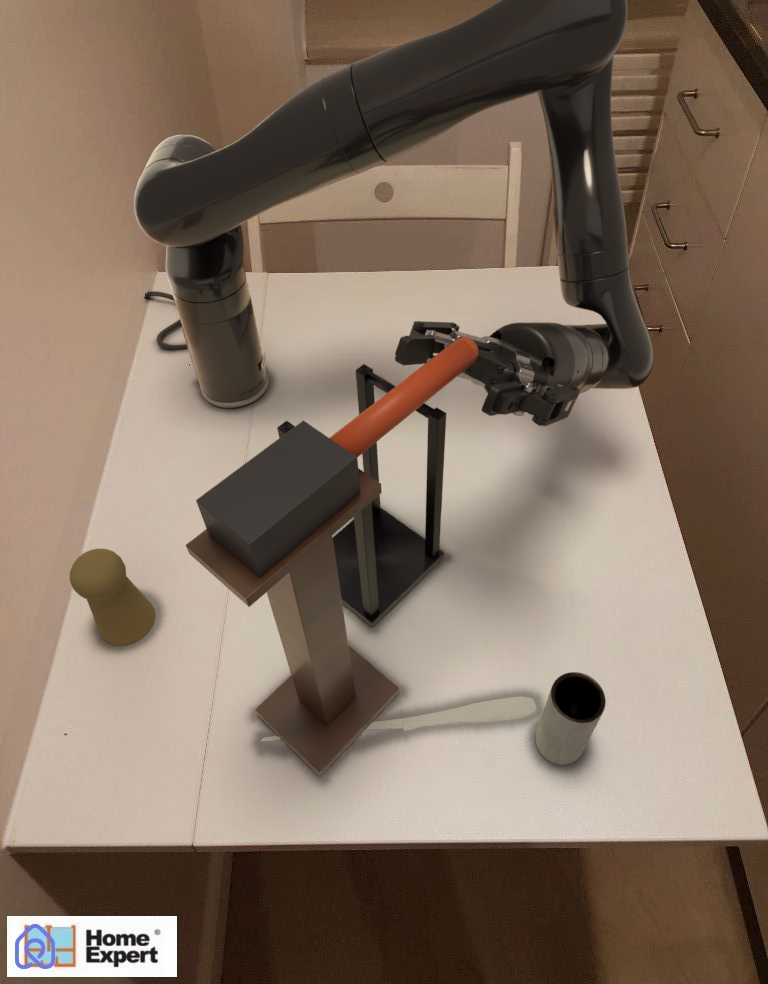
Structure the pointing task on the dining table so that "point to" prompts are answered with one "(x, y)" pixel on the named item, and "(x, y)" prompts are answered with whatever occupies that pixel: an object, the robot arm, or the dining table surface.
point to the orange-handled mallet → (313, 471)
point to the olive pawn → (112, 597)
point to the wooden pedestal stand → (310, 640)
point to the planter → (569, 717)
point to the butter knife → (460, 715)
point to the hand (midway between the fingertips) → (444, 375)
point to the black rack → (388, 525)
